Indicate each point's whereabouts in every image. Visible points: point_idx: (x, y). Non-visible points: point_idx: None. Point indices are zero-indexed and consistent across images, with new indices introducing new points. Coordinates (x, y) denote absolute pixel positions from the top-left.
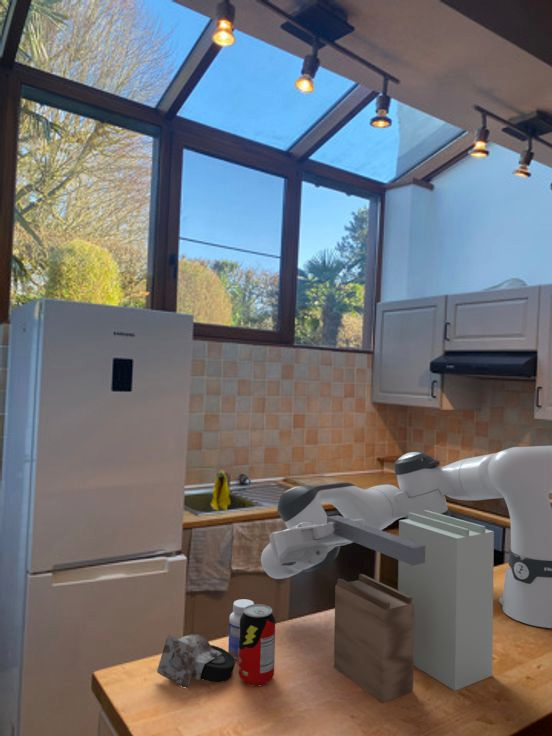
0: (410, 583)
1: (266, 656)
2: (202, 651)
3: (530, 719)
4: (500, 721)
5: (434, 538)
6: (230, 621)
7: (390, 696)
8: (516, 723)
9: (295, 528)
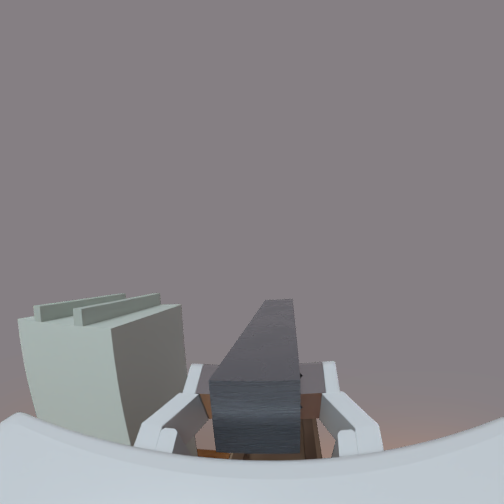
0: None
1: None
2: None
3: (197, 449)
4: (222, 458)
5: (163, 324)
6: None
7: None
8: (213, 452)
9: (494, 420)
